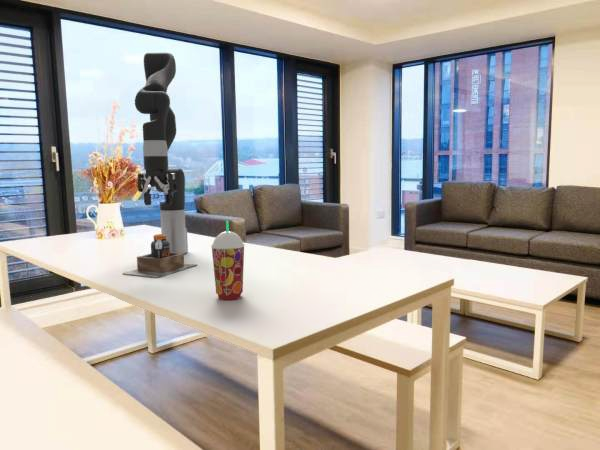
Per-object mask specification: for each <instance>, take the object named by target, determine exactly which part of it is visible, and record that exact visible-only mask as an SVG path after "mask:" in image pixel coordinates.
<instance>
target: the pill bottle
mask: <svg viewBox="0 0 600 450" xmlns="http://www.w3.org/2000/svg"><path fill="white" fill-rule="evenodd" d="M150 254H151V258H165V257H169V256H170V244H169V242H168V241H167V240H166V235H165V234H153V241H151V243H150Z"/></svg>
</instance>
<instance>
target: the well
mask: <svg viewBox="0 0 600 450" xmlns="http://www.w3.org/2000/svg"><path fill="white" fill-rule="evenodd" d="M184 255H185V254H183V253H170V256H169V257H165V258H151V253H148V254H144V255H138V256H136V265H137V266H136V267H137V269H136V268H135V269H133V270H129V271H125V272H122V275H126V276H133V277H134V276H135V277H143V278H144V277H145V278H151V279H152V278H155V279H157V278H162V277H165V276H168V275H172V274H174V273H178V272H181V271H186V270H188V269H190V268H194V267H197V266H198V264H196V263H194V264H193V263H185V259H184V257H185V256H184Z"/></svg>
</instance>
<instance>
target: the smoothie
mask: <svg viewBox="0 0 600 450" xmlns="http://www.w3.org/2000/svg"><path fill="white" fill-rule="evenodd" d="M229 224H230V223H229V220H225V228H226V230H225V231H222V232H220V233H219V234H218V235H217V236H215V238H214V240H213V243H212V244H211V246H210V247H211V253H212V264H213V272H214V273H213V274H214V275H213V276H214V284H215V293H216V294H217V297H218V298H219V300H223V301H233V300H237V299H240V298H241V297H242V293H243V290H244V262H245V246H246V245H245V243H244V242H243V240H242V238H241V237H240V235H239V234H238V233H236V232H234V231H231V230H230V228H229V227H230V225H229Z"/></svg>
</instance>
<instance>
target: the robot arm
mask: <svg viewBox="0 0 600 450" xmlns="http://www.w3.org/2000/svg"><path fill="white" fill-rule="evenodd" d="M143 69H144V77H145V84H144V86H143V87H142V88H140V89H139V90H138V91H137V93H136V95H135V97H134V106H135V109H136V111H138V112H139V113H140V114H143V115H149V121H146V122H143V124H142V136H143V137H142V138H143V141H142V142H143V143H142V155H143V169H144V170H145V173H144V172H143V173H138V174H137V191H138V192H139V193H142V195H143V202H144V203H143V204H144V205H145V206H152V194H151V192H152V190H153V189H154V188H155V189H156V191H157V192H159V193H165V194H164V201H162V202H160V203H159V214H160V233H161V234H165V235H166V240H167V241H168V242H169V244H170V253H183V254H184V255H185V254H187V253H188V252H189V247H188V241H189V240H188V228H187V227H186V211H185V210H186V209H185V204H186V197H185V195H186V179H185V173H184V171H183V169H182V168H180V167H179V168H178V167H169V157H168V152H169V149H170V148H171V146H172V144H173V142H174V140H175V139H176V135H177V121H176V115H175V113H174V111H173V109H172V108H171V100H170V99H171V98H170V96H169V95H168V93H167V92H168V88H169V85H170V84H171V83H172V81H173V80H174V78H175V76H176V71H177V66H176V60H175V57H174V55H173V54H172V53H171V52H146V53H145V54H144V55H143Z"/></svg>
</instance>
